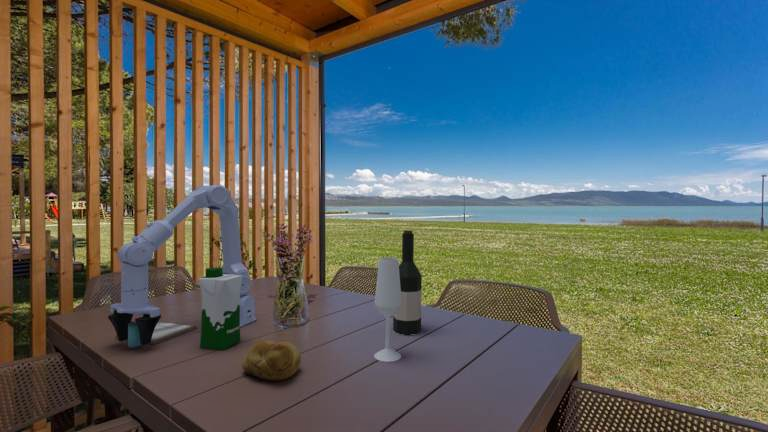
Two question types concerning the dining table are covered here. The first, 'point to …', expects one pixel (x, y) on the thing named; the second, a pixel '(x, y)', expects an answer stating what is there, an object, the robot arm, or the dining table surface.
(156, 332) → the writing board
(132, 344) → the marker
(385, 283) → the champagne flute
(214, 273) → the milk carton
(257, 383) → the dining table surface
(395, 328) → the wine bottle
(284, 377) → the bread roll
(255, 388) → the dining table surface
